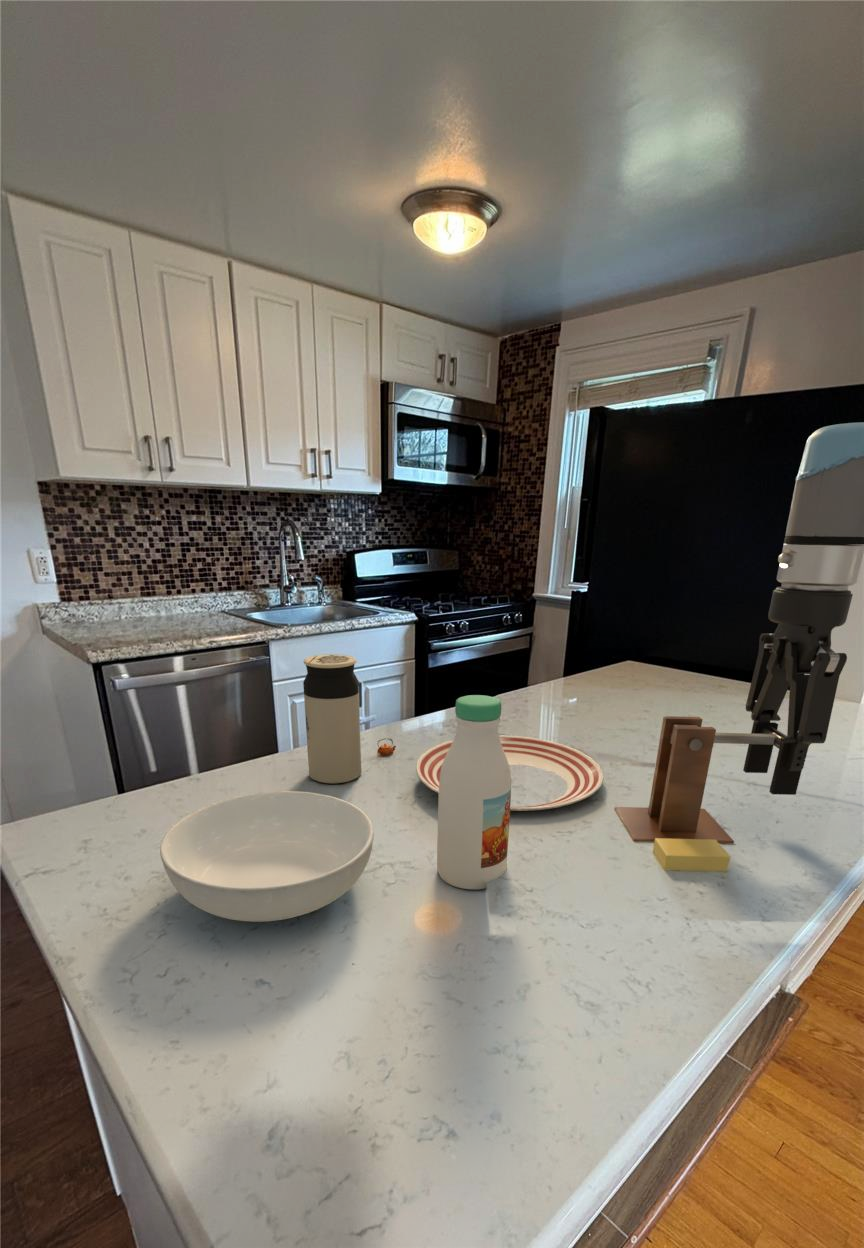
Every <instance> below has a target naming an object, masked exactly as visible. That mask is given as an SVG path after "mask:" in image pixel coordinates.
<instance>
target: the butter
mask: <svg viewBox="0 0 864 1248" xmlns="http://www.w3.org/2000/svg"><path fill="white" fill-rule="evenodd" d="M652 853H653V856H654V857H655V858H656V861H658V863H659V865H660V866H661V868H662V869H663V871H689V872H691V871H692V872H693V871H695V872H728V870H729V866H730V862H731V856H730V854H729V853H728V852H727V851H726V850H725V848H724V847H723V846H722V845H721V843H718V842H717V841H716V840H711V839H665V838H655V842H653V847H652Z"/></svg>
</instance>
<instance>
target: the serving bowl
mask: <svg viewBox="0 0 864 1248" xmlns="http://www.w3.org/2000/svg"><path fill="white" fill-rule="evenodd" d="M374 836H375V832H374V826H373V823H372V821H371V819H370V817H369V816H368V815H367V814H366V813H365V812H364V811H363V810H362V809H360V808H359V807H357V806H356V805H354V804H352V803H350V802H349V801H346V800H344V799H341V798H338V797H335V796H332V795H327V794H323V793H315V792H309V791H294V790H293V791H291V790H290V791H289V790H286V791H285V790H283V791H282V790H281V791H264V792H256V793H250V794H249V793H248V794H243V795H239V796H234V797H231V798H227V799H223V800H219V801H217V802H214V803H211V804H208V805H205V806H203V807H201V808H199V809H197V810H195V811H193V812H191V813H189V814H187V815H185V816H184V817H182V818H181V819H179V820H178V821H177V822H176V823H174V825H173V826H171V827H170V829H168V831H167V832H166V833H165V834H164V836H163V838H162V840H161V843H160V847H159V855H160V859H161V862H162V865H163V868H164V870H165V873H166V875H167V877H168V879H169V881H170V883H171V884H172V886H173V887H174V888H175V890H176V891H177V892H178V893H179V894H180V895H181V897H183V898H184V899H185V900H186V901H187V902H189V903H190V904H192V905H193V906H194V907H196V908H198V909H200V910H201V911H204V912H206V913H208V914H211V915H213V916H216V917H219V918H223V919H228V920H233V921H239V922H240V921H241V922H258V923H259V922H261V923H262V922H273V921H282V920H287V919H291V918H292V919H293V918H296V917H300V916H303V915H307V914H309V913H312V912H314V911H318V910H320V909H321V908H324V907H325V906H328V905H329V904H331V903H333V902H334V901H336V900H338V899H339V898H340V897H342V896H343V895H344V894H345V893H346V892H348V891H349V890H350V889H351V888H352V887H353V885H354V884H356V882H357V881H358V880H359V878H360V877H361V876H362V874H363V872H364V870H365V869H366V867H367V865H368V863H369V860H370V857H371V854H372V849H373V844H374V838H375V837H374Z"/></svg>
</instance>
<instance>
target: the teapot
mask: <svg viewBox="0 0 864 1248" xmlns="http://www.w3.org/2000/svg"><path fill="white" fill-rule="evenodd" d="M383 740H385V738H383V739H379V740H378V741H377V747H378V748H377V751H376V755H377V756H378V757H388V756H391V755H392V754H393V753H394V751H395V750H396V748H397V745H393V744H394V741H393V739H391V738H388V740H389V741H390V742H391V745H389V744H386V743H384V744H382V745H380V746H379V743H380V742H381V741H383Z"/></svg>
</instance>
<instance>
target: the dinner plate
mask: <svg viewBox="0 0 864 1248" xmlns="http://www.w3.org/2000/svg"><path fill="white" fill-rule="evenodd" d="M499 738H500V742H501V745H502V748H503V750H504V753H505V755H506V757H507V760H508V763H509V766H529V767H530V766H531V767H534V768H537V769H541V770H543V771H548V772H551V773H554V774H555V775H557V776H559V777H560V778H562V779H563V780H564V781H565V782H566V785H567V789H566V791H565V793H563V794H562V795H561V796H560V797H558V798H557V799H554V800H552V801H549V802H546V803H543V804H537V805H529V806H528V805H527V806H510V812H511V811H513V812H514V811H515V812H516V811H517V812H519V811H521V812H523V811H524V812H528V811H543V810H549V809H555V808H561V807H565V806H569V805H573V804H575V803H578V802H580V801H583V800H585V799H587V798H589V797H591V796H592V795H594V794H595V793H596V792H597V791H598V790H599V789H600V788H601V787H602V785H603V782H604V772H603V770H602V768H601V766H600V765H599V764H598V763H597V761H595V760H594V759H593V758H591V757H590V756H589V755H587V754H586V753H584V752H582V751H580V750H578V749H576V748H574V747H571V746H568V745H565V744H563V743H559V742H556V741H552V740H547V739H542V738H536V737H529V736H520V735H500V734H499ZM453 740H454V739H452V740H448V741H445V742H442V743H440V744H437V745H435V746H432V747H431V748H429V749H427V750H426V751H425V752H424V753H422V754H421V755H420V756H419V758H418V760H417V762H416V764H415V773H416V775H417V777H418V779H419V780H420V781H421V782H422V783H423V784H424V785H425V786H426V787H427V788H428V789H430V790H432V791H433V792H435V793H437V794H439V780H440V772H441V768H442V764H443V761H444V759H445V757H446V754H447V752H448V751H449V749H450V747H451V745H452V742H453Z"/></svg>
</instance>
